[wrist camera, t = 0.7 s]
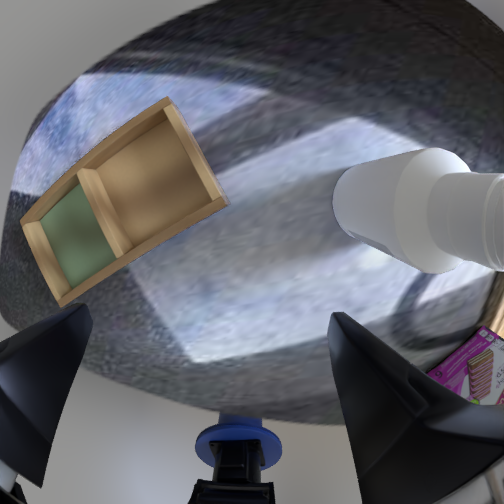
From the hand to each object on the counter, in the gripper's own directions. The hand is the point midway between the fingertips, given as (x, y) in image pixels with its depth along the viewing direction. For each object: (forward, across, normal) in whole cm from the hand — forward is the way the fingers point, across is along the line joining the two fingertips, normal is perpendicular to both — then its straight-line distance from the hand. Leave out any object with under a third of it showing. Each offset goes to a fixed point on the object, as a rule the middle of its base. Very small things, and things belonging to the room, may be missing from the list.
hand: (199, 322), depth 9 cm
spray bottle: (+15, -12, -1) cm, 19 cm away
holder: (+15, +11, 0) cm, 19 cm away
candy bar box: (+11, -29, +18) cm, 35 cm away
